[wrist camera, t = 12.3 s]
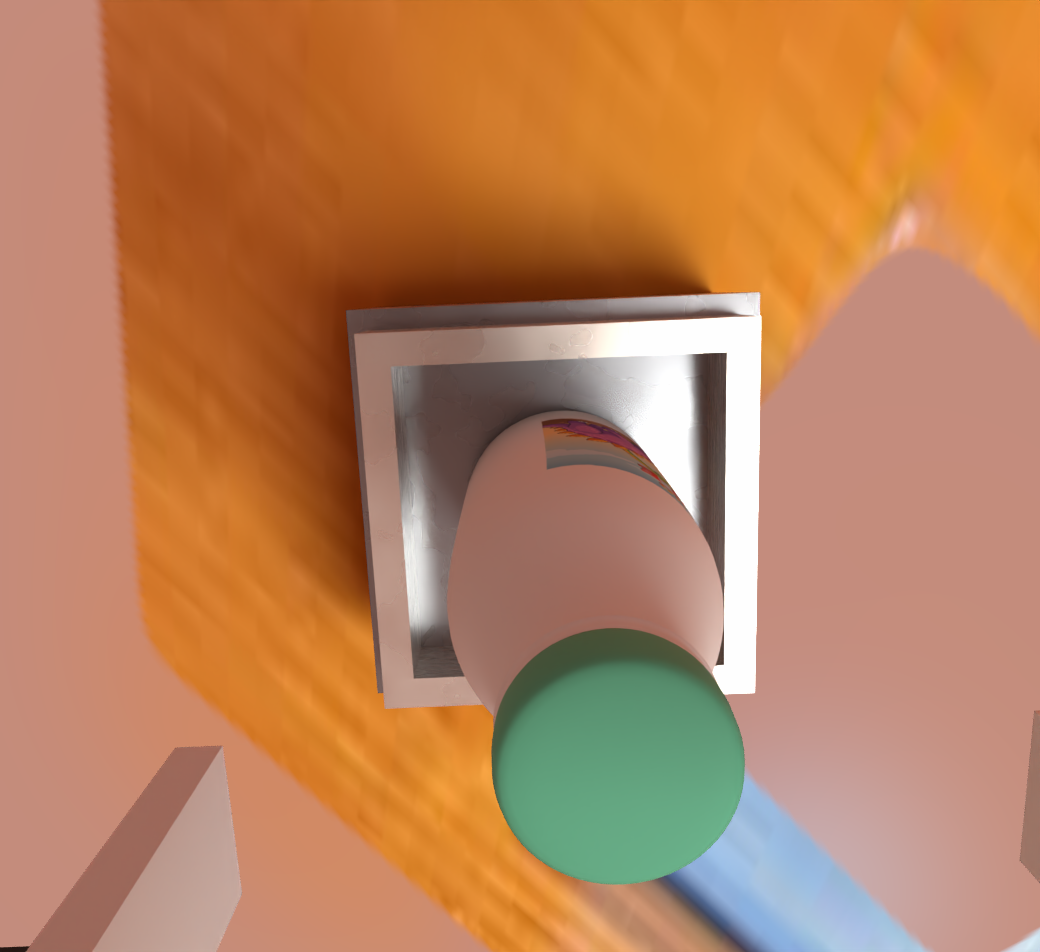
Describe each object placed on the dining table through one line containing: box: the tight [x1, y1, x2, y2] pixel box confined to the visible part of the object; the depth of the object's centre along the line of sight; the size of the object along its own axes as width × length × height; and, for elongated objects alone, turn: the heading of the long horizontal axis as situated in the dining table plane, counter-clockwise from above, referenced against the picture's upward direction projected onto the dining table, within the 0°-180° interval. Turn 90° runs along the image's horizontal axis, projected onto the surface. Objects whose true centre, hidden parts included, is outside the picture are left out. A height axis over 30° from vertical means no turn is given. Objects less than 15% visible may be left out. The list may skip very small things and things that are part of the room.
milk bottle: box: [447, 410, 745, 884], centre depth 25 cm, size 8×8×20 cm
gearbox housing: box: [346, 292, 761, 709], centre depth 37 cm, size 17×16×11 cm
